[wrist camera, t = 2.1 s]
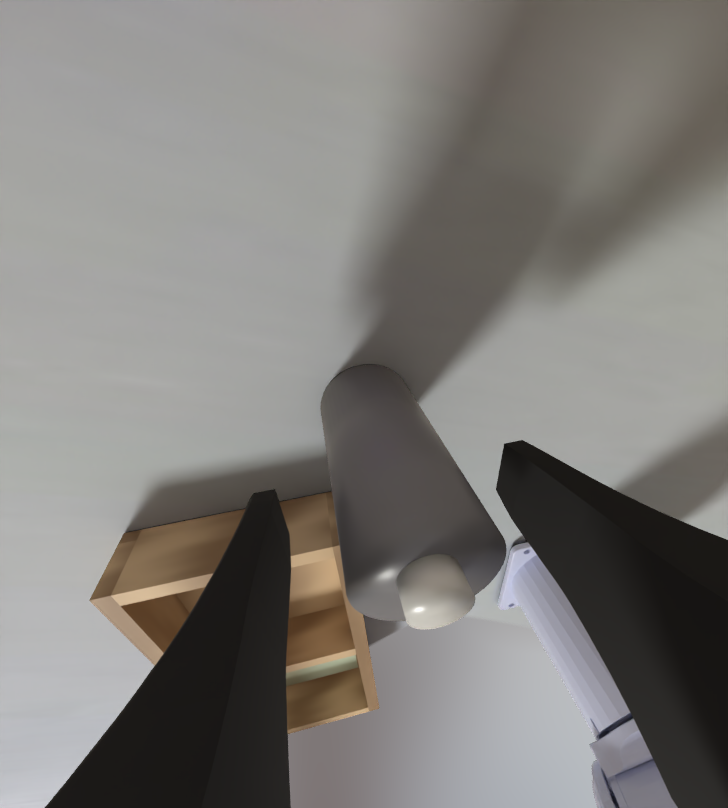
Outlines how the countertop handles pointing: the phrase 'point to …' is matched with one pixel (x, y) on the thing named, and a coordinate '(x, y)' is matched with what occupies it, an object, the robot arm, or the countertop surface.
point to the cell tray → (308, 608)
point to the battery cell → (402, 506)
